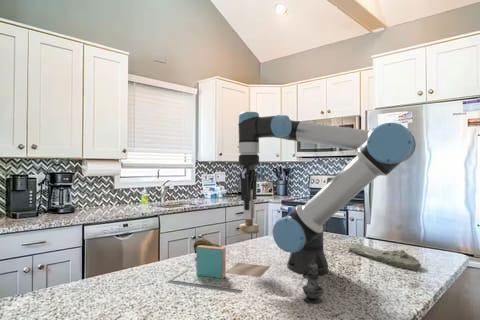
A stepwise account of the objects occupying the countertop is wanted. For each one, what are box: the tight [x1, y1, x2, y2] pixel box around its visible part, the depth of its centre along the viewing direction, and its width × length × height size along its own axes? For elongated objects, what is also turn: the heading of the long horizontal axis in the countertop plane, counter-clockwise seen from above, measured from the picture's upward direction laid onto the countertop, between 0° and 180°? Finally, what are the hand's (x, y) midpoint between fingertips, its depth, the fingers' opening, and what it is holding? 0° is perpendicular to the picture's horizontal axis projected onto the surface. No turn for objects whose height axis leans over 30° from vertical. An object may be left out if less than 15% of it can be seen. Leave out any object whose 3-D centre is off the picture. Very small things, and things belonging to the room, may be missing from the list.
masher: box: [239, 189, 260, 235], centre depth 125 cm, size 7×7×16 cm
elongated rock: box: [348, 243, 422, 270], centre depth 143 cm, size 35×5×10 cm
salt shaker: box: [302, 259, 324, 305], centre depth 99 cm, size 6×6×12 cm
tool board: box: [226, 262, 271, 278], centre depth 125 cm, size 13×13×1 cm
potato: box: [193, 239, 222, 254], centre depth 144 cm, size 8×13×8 cm, turn 105°
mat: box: [166, 269, 244, 294], centre depth 113 cm, size 26×14×1 cm, turn 70°
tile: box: [195, 245, 227, 279], centre depth 118 cm, size 10×3×10 cm, turn 70°
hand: (249, 218), depth 125 cm, fingers closed on masher, 3 cm apart
